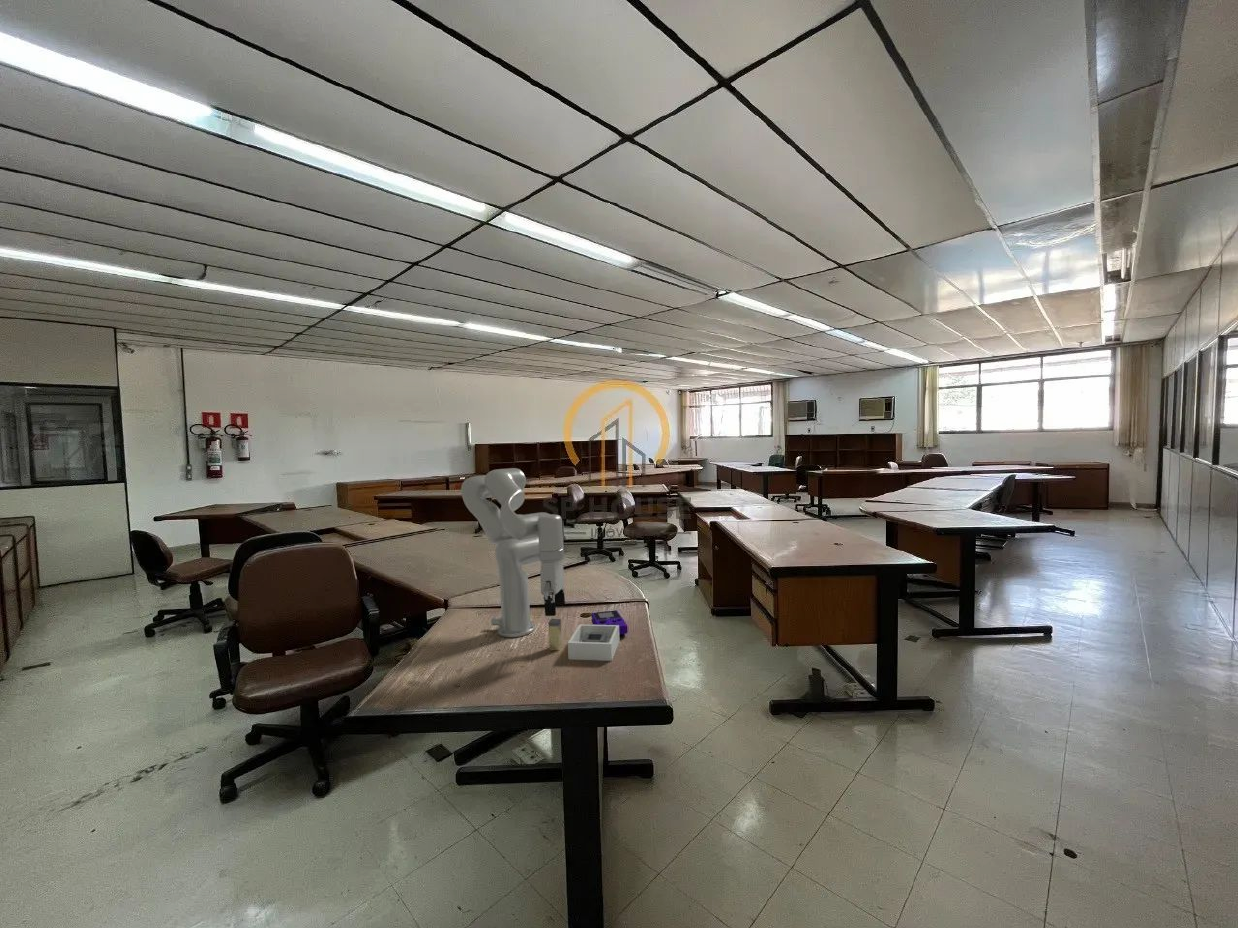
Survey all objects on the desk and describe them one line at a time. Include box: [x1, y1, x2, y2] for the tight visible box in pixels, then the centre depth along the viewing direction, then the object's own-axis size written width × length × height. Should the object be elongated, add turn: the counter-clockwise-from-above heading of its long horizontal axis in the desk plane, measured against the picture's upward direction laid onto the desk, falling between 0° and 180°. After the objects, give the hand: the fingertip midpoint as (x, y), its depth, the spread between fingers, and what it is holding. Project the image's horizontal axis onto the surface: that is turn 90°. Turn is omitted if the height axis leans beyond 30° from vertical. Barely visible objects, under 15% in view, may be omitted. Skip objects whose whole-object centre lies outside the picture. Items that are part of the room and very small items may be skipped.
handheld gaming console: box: [591, 609, 628, 635], centre depth 159 cm, size 9×5×15 cm
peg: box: [547, 618, 563, 652], centre depth 147 cm, size 3×3×9 cm
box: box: [567, 623, 621, 662], centre depth 145 cm, size 13×14×5 cm
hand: (555, 609), depth 146 cm, fingers open, 9 cm apart
